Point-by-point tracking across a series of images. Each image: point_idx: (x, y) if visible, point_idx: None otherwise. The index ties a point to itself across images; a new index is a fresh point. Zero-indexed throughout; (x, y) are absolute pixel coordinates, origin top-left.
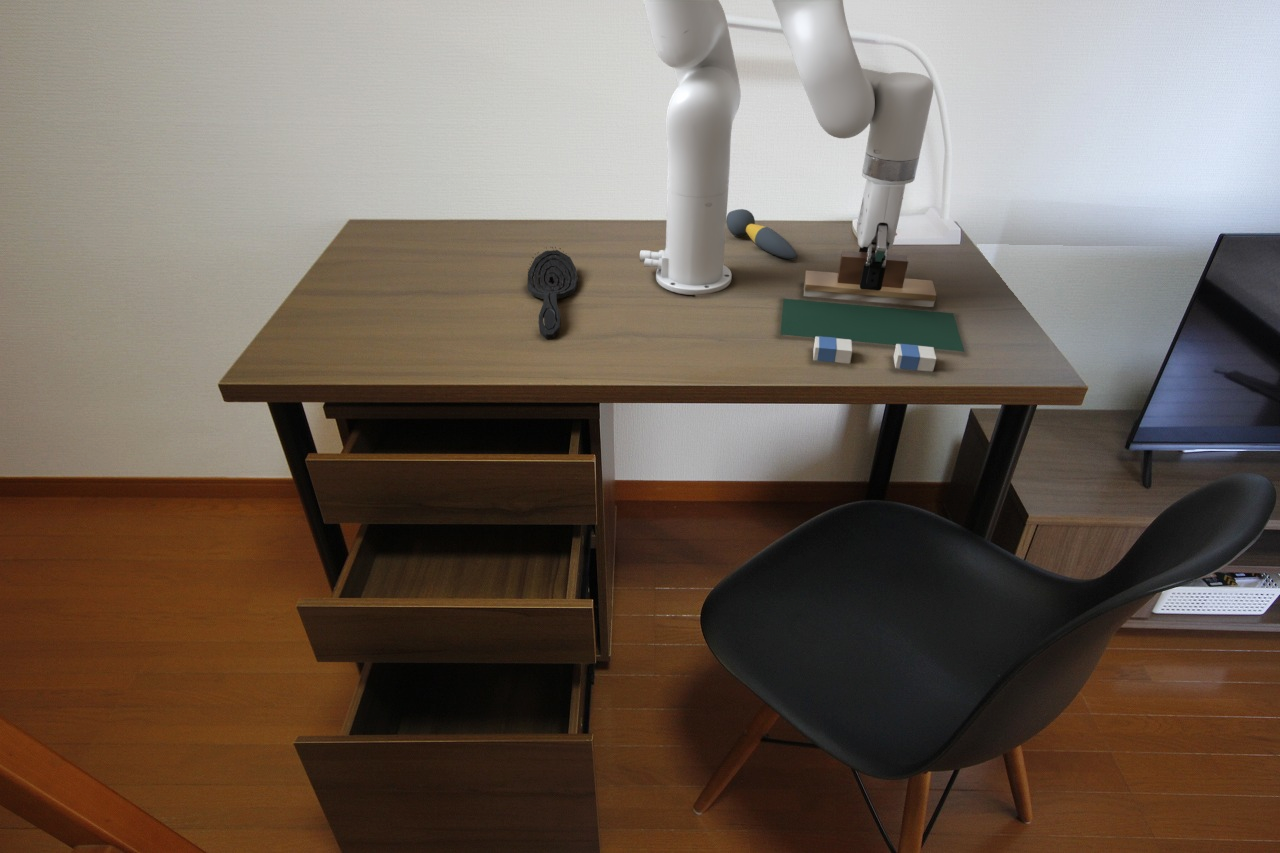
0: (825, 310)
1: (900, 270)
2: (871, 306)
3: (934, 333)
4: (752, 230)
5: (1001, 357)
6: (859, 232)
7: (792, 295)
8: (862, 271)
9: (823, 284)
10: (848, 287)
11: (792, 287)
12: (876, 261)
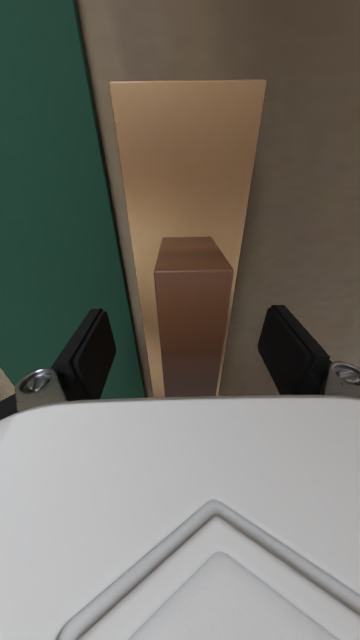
0: (53, 197)
1: None
2: (127, 312)
3: None
4: None
5: None
6: (87, 479)
7: (141, 42)
8: (79, 339)
9: (135, 182)
10: (137, 271)
11: (217, 38)
12: None
